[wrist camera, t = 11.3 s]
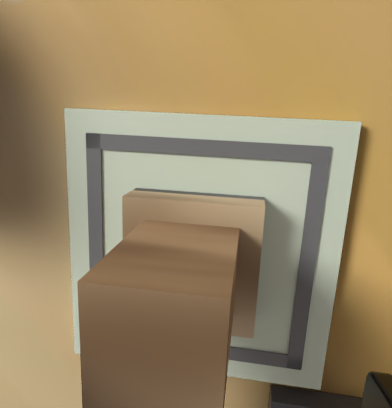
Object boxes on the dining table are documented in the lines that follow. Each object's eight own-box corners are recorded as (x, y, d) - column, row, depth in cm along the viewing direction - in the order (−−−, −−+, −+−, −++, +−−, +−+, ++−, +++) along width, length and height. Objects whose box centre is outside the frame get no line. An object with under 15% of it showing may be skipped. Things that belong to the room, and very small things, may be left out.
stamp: (253, 315, 15) (253, 465, 8) (136, 301, 15) (53, 430, 9) (264, 196, 13) (273, 267, 7) (136, 187, 14) (41, 244, 8)
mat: (318, 381, 15) (320, 391, 15) (79, 346, 17) (73, 354, 16) (357, 121, 13) (362, 121, 12) (70, 108, 14) (62, 107, 14)
